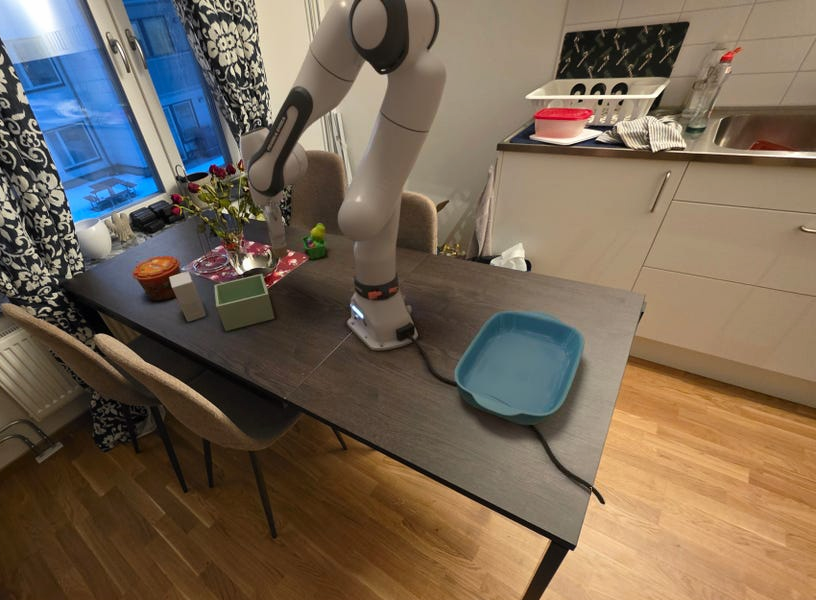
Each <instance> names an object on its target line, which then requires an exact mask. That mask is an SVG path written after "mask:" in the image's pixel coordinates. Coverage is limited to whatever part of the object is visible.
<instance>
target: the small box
mask: <svg viewBox="0 0 816 600" xmlns="http://www.w3.org/2000/svg"><path fill="white" fill-rule="evenodd" d="M169 279H170V283H171V286H172V289H173V291H174V293H175V295H176V296H175V297H176V300H177V302H178V304H179V306H180V308H181V310H182V311H181V312H182V313H183V315H184V317H185V320H186V322H187V323H189V322H192V321H196V320H199V319H201V318H204V317H206V316H207V313H206V310H205V307H204V306H203V302H202V301H201V299H200V296H199V294H198V291H197V289H196V287H195V284H194V281H193V278H192V277H191V274H190V272H189V271H184V272H181V273H180V274H177V275H174V276H171V277H169Z"/></svg>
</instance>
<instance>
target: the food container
mask: <svg viewBox="0 0 816 600" xmlns="http://www.w3.org/2000/svg"><path fill="white" fill-rule="evenodd" d="M180 273H182V271H181V269H180V260H179V259H178V258H176V257H174V256H172V255H162V256H160V255H159V256H154V257H151V258H148V260H146V261H141V262H140V263H139V264H137V265H136V266H135V268H134V269H133V271H132V277H133V279H134V280H137V282H138V283H139V285H140V286H141V288H142V289H143V291H144V292H145V293H146V295H147V296H148V298H149V299H150V300H152V301H155V302H162V301H163V302H164V301H168V300H171V299H173V298H175V297H176V295H175V293H174V291H173V289H172V286H171V283H170V279H169V277H171V276H174V275H177V274H180Z"/></svg>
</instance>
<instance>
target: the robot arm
mask: <svg viewBox="0 0 816 600" xmlns="http://www.w3.org/2000/svg"><path fill="white" fill-rule="evenodd" d="M439 31H440V13H439V8H438V5H437V4H436V2H435V0H334V1H333V2H332V3H331V5H330V7H329V8H328V10H327V11H326V13H325V15H323V18H322V20H321V22H320V24H319V25H318V28H317V29H316V32H315V34H314V36H313V38H312V41H311V43H310V45H309V47H308V50H307V53H306V55H305V56H304V57H305V58H304V60H303V62H302V64H301V67H300V69H299V71H298V73H297V76H296V78H295V80H294V82H293V84H292V86H291V87H290V90H289V92H288V94H287V96H286V98H285V100H284V101H283V103H282V105H281V107H280V109H279V110H278V113H277V115H276V117H275V119H274V121H273V123H272V125H271V127H270V129H268V128H267V127H264V126H259V127H256V128H253V129H251V130H248V131H246V132H244V133H242V134H241V135H240V137H239V151H240V156H241V160H242V164H243V168H244V171H245V173H246V175H247V179H248V187H249V192H250V195H251V199H252V203H253V204H254V205H255V206H258V208H259V210H261V211H262V214H263V216H264V215H265V214H266V216H267V221H268V225H269V228H270V230H271V232H272V235H273V237H275V240H276V243H277V245H280V244H282V243H283V242H282V236H285V235H286V229H285V225H284V224H285V223H284V220H283V216H282V213H281V209H280V206H281V203H282V202H281V201H282V200H283V199H284V193H283V190H285V189H286V188H288V187H290V186H292V185H293V184H294V183H295V182H297V181H298V180H300V179H301V178H303V177H304V176H305V175H306V173H307V171H308V169H309V157H308V154H307V152H306V149H305V148H304V146H303V145H301V144H300V142H299V141H300V139H301V137H302V136H303V134H304V133H305V132H306V131H307V130H308V128H309V127H311V126H312V125H313V124H314V123H315V122H317V121H318V120H320V119H321V118H322V117H325V116H327V114H329V113H330V112H332V111H333V110H334V109H336V108H337V107H338V106H339V105H341V103H342V102H343V101H344V99H345V98H346V97H347V95H348V94H349V92H350V90H351V89H352V87H353V85H354V83H355V82H356V80H357V78H358V76H359V74H360V72H361V70H362V68H363V66H364V64H365V63H366V62H367V63H368V64H369V65H370V66H371V68H373V69H374V70H375V72H376V73H377V74H378V75H381V76H384V75H386V76H387V86H386V89H385V93H384V96H383V99H382V102H381V105H380V108H379V111H378V113H377V116H376V120H375V122H374V126H373V129H372V132H371V135H370V137H369V140H368V143H367V146H366V149H365V150H364V153H363V156H362V158H361V160H360V161H359V164H358V166H357V169H356V170H355V172H354V175H353V178H352V180H351V182H350V185H349V187H348V189H347V192H346V194H345V196H344V198H343V202H342V203H341V206H340V207H339V210H338V213H337V224H338V227H339V229H340V231H341V232H342V234H343V235H344V236H345V237H346V238H348V239H349V240H351V241H353V242H354V246H353V252H352V253H353V264H354V276H353V286H354V293H353V295H352V296H351V298H350V316H351V317H350V318H349V319H347V322H346V325H347V327H348V328H349V329H350V330H351V331H352V332H353V333H354V334H355V335H356V336H357V337H358V338H359V339H360V340H361V341H362V342H363V343H364V344H365V345H366V346H367V348H368V349H370V350H371V351H377V352H379V351H380V352H381V351H390V350H395V349H398V348H401V347H405V346H407V345H410V344H412V343H413V344H414V345H415V346H416V348H417V349H418V351H419V352H420V354H421V355H422V357H423V359H424V361H425V364H426V366H427V368H428V370H429V371H430V373H431V374H432V375H434V377H436V378H437V379H438V380H441V381H442V382H445V383H447V384H449V385H453V386H457V384H456V381H455V380H452V379H448V378H446V377H444V376H442V375H440V374H439V373H438V372H436V371H435V370H434V369H433V367H432V364H431V362H430V360H429V358H428V356H427V354H426V352H425V351H424V349H423V347H422V346H421V345H420V344H419V342H418V341H417V339H418V338H419V334H418V331H417V329H416V325H415V324H414V321H413V319H412V316H411V314H412V311H413V310H412V309H413V308H412V306H411V304H408V305H406V303H405V300H406V295H405V294H402V292H401V288H400V287H401V286H400V285H399V284H400V282H399V277H398V273H397V239H398V233H399V225H400V218H401V217H400V216H401V207H402V205H401V204H402V200H403V199H402V197H403V192H404V186H405V184H406V182H407V180H408V178H409V176H410V174H411V172H412V171H413V169H414V167H415V165H416V162H417V161H418V158H419V155H420V153H421V151H422V148H423V146H424V144H425V142H426V139H427V137H428V135H429V132H430V130H431V128H432V127H433V123H434V122H435V121H434V120H435V118H436V115H437V113H438V110H439V108H440V107H439V106H440V104H441V100H442V96H443V94H444V89H445V85H446V82H447V70H446V67H445V65H444V63H443V61H442V60H441V59H440V58H439V57H438V56H437V55H435V54H434V53H432V52H431V51H430V50H431V49H432V47H433V46H434V44H435V42H436V41H437V38H438V35H439ZM275 220H277V221H275ZM487 395H488V394H487ZM489 396H490V395H489ZM491 397H493V396H491ZM494 398H495V397H494ZM495 399H497V398H495ZM497 400H499V399H497ZM499 401H501V400H499ZM501 402H502V401H501ZM503 403H504V402H503ZM505 404H506V403H505ZM506 405H507V404H506ZM508 406H509V405H508ZM509 407H510V406H509ZM527 426H528V427H529V428H530V429H531V430H532V432H534V434H535V435H536V436H537V437H538V439H539V440H540V442H541V444H542V446H543V448H544V449H545V451H546V453H547V454H548V456H549V458H550V459H551V461H552V462H553V464H554V465H555V466H556V467H557V468H558V469H559V470H560V471H561V472H563V474H565V475H567V476H568V477H569V478H571V479H572V480H574V481H576V482H577V483H579V484H581V485H583V486H584V487H586V488H587V489H588V490H589V491H591V488H590V487H592V486H593V485H592V484H591V483H589V482H588V481H586V480H585V479H583V478H581V477H579V476H578V475H576V474H575V473H573V472H571V471H569V470H568V469H567V468H566V467H564V465H563V464H562V463H561V462H560V461H559V460H558V459H557V457H556V456H555V454H554V453H553V451H552V450H551V447H550V446H549V445H548V442H547V440H546V439H545V438H544V436H543V435H542V433H541V432H540V431H539V430H538V429H537V427H536V426H534V425H527ZM591 493H592V494H593V495H594V496H595V497H596V498H597V500H598V502H599V503H600V504H602V505H604V506H605V505H606V501H605V499H604V497H603V496H602V494H601V492H599V490H598V489H596V488H595V487H594V486H593V487H592V491H591Z"/></svg>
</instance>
